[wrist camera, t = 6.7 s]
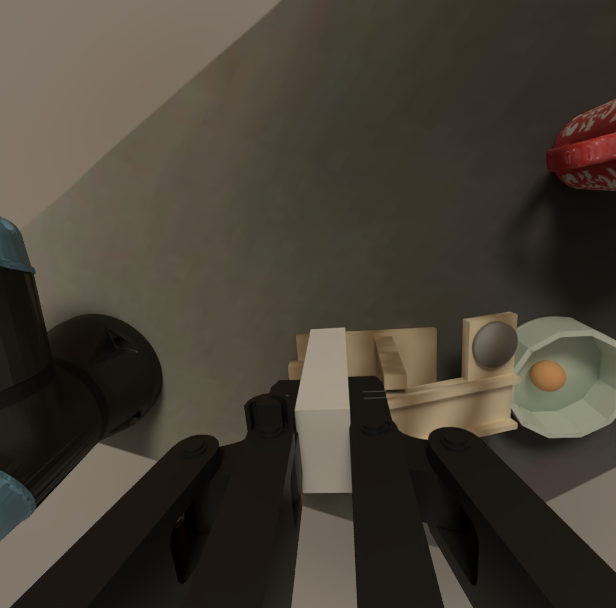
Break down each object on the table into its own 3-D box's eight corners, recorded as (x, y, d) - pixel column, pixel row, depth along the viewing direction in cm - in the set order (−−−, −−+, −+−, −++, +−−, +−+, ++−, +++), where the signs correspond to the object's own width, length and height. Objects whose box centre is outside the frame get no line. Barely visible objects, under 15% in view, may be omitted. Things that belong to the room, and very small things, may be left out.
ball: (554, 382, 43) (523, 382, 44) (557, 354, 42) (525, 355, 43) (571, 397, 40) (537, 397, 40) (574, 368, 39) (539, 368, 40)
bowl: (488, 414, 46) (505, 439, 41) (493, 319, 42) (512, 334, 38) (596, 411, 45) (625, 436, 40) (609, 313, 41) (643, 327, 37)
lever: (271, 451, 38) (280, 494, 32) (257, 339, 35) (264, 365, 29) (484, 406, 42) (524, 438, 37) (488, 304, 39) (534, 320, 33)
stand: (296, 416, 48) (285, 475, 38) (288, 334, 45) (273, 375, 35) (434, 412, 46) (461, 472, 36) (435, 327, 43) (465, 367, 33)
